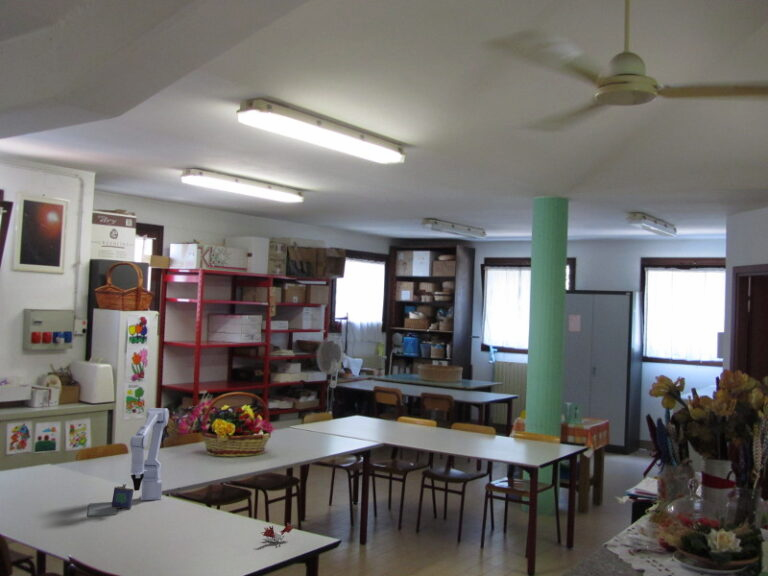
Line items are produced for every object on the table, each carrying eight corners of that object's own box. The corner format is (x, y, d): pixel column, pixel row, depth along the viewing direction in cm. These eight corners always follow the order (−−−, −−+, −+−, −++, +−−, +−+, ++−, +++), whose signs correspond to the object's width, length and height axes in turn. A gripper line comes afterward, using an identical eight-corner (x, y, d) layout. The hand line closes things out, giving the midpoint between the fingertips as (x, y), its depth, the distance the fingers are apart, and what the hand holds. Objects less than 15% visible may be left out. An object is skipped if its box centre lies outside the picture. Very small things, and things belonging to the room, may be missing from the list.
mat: (116, 502, 344) (116, 501, 344) (116, 514, 325) (116, 513, 325) (89, 504, 340) (89, 503, 340) (88, 516, 321) (88, 515, 321)
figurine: (282, 534, 307) (283, 518, 307) (298, 541, 298) (298, 525, 298) (251, 540, 297) (252, 524, 297) (267, 548, 288) (268, 531, 288)
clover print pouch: (131, 508, 336) (135, 485, 337) (129, 509, 334) (132, 486, 334) (112, 505, 337) (116, 482, 338) (110, 506, 334) (113, 483, 335)
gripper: (147, 464, 333) (146, 493, 332) (146, 457, 346) (145, 486, 346) (131, 464, 330) (130, 494, 330) (130, 458, 344) (129, 486, 343)
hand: (136, 490), depth 338 cm, fingers closed
